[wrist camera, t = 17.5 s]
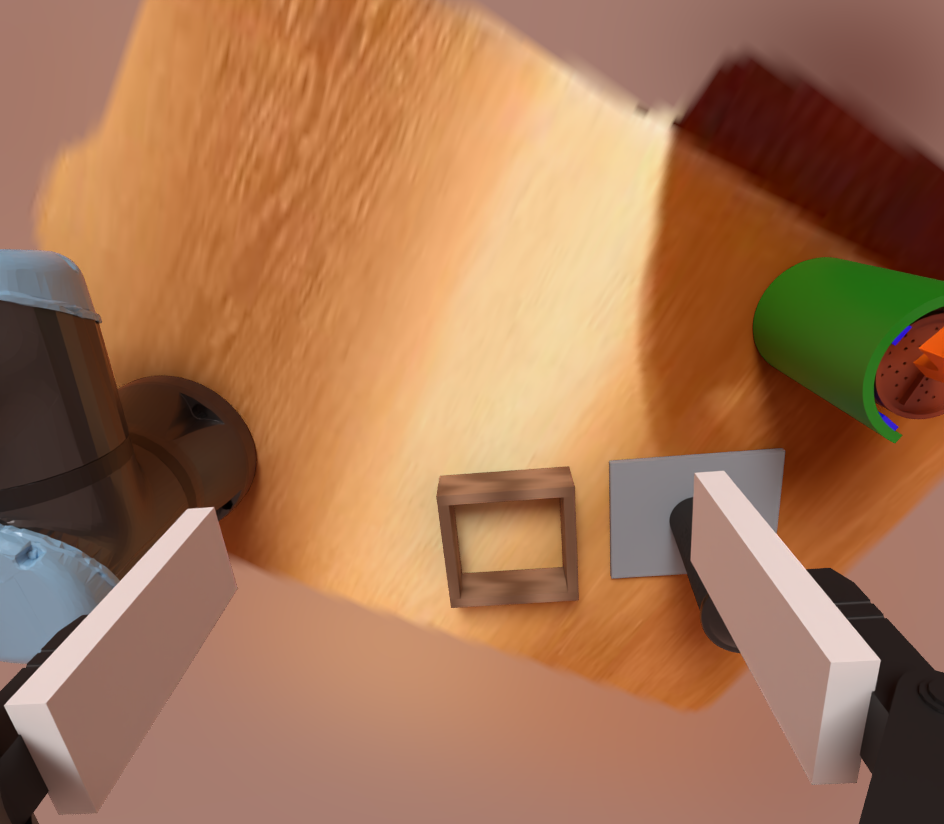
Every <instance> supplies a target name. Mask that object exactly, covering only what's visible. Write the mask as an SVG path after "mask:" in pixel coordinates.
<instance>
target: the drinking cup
mask: <svg viewBox="0 0 944 824" xmlns="http://www.w3.org/2000/svg"><path fill="white" fill-rule="evenodd" d="M692 517H693V497H691V498H687V499H685V500H683V501H681V502H680V503H678V504H677V505H676V506H675V507H674V509H673V510H672V512H671V515H670V520H669V522H670V527H671V530H672V532H673V535H674V538H675V541H676V544H677V547H678V550H679V552H680V555H681V558H682V561H683V564H684V567H685V569H686V572H687V575H688V578H689V581H690V584H691V587H692V589H693V592H694V595H695V598H696V601H697V604H698V606H699V609H700V622H701V625H702V628H703V630H704V632H705V634H706V635H707V637H708V638H709V639H710V640H711V641H712V642H713V643H715V644H716V645H717V646H719V647H721V648H723V649H725V650H728V651H731V652H736V653H740V651H739V649H738V647H737V645H736V644H735V642H734V640H733V638H732V636H731V634H730V632H729V631H728V629H727V627H726V625H725V623H724V621H723V619H722V618H721V616H720V614H719V612H718V610H717V608H716V606H715V605H714V603H713V601H712V599H711V597H710V595H709V594H708V592H707V590H706V588H705V586H704V584H703V582H702V581H701V579H700V577H699V575H698V573H697V571H696V569H695V568H694V566H693V564H692V562H691V539H692Z"/></svg>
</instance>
